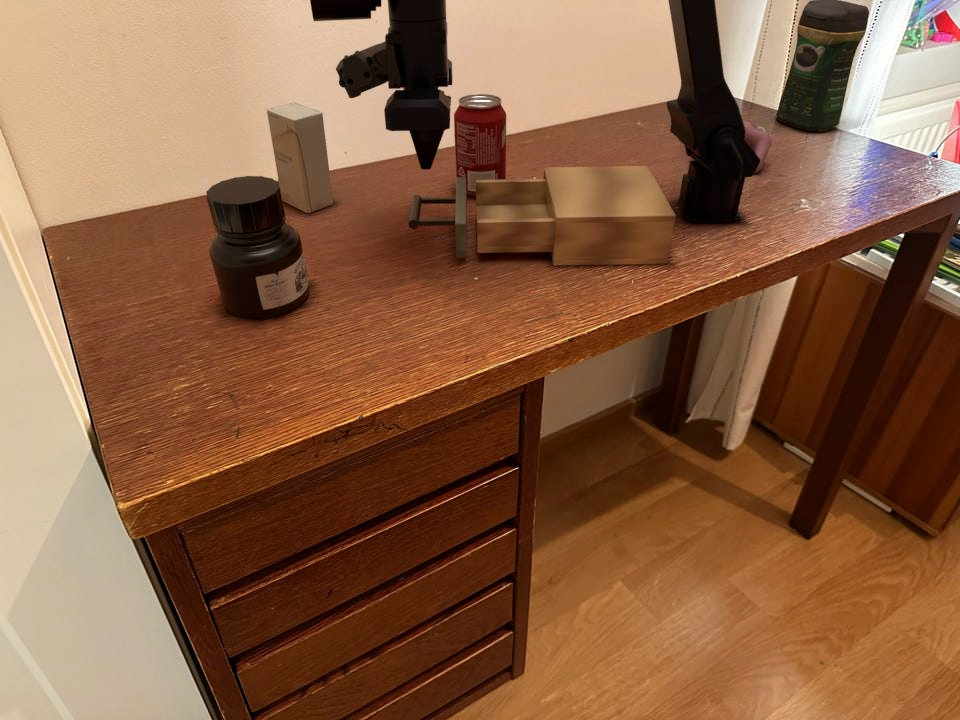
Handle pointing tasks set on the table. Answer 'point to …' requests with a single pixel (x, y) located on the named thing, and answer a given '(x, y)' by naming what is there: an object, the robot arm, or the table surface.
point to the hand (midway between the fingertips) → (426, 168)
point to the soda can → (480, 139)
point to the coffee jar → (822, 63)
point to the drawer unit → (609, 216)
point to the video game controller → (757, 141)
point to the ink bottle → (255, 248)
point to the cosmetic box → (301, 156)
